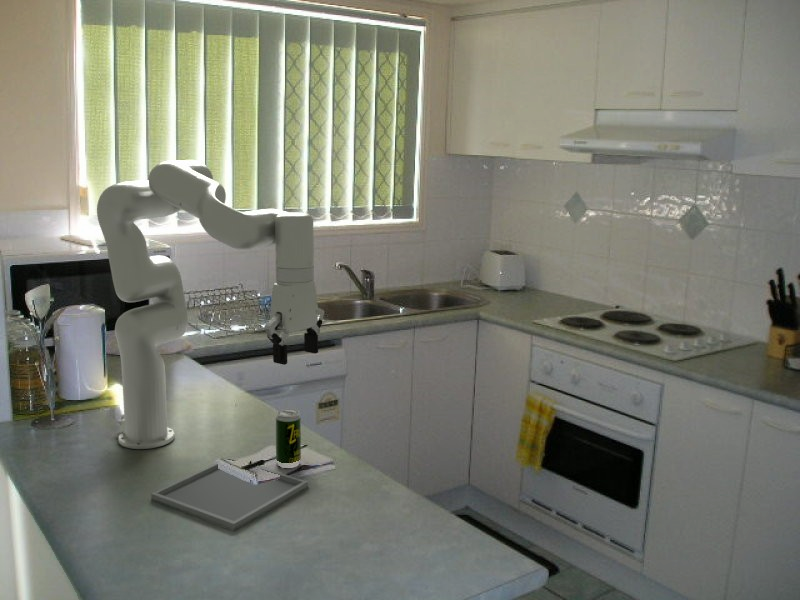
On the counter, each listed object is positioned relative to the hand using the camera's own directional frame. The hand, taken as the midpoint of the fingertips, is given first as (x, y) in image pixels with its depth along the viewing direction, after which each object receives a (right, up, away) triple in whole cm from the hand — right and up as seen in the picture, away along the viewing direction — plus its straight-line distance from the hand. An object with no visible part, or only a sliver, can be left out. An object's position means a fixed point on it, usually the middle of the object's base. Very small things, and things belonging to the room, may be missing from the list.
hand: (296, 357), depth 169 cm
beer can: (-3, -25, +14) cm, 29 cm away
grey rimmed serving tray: (-13, -28, -1) cm, 30 cm away
